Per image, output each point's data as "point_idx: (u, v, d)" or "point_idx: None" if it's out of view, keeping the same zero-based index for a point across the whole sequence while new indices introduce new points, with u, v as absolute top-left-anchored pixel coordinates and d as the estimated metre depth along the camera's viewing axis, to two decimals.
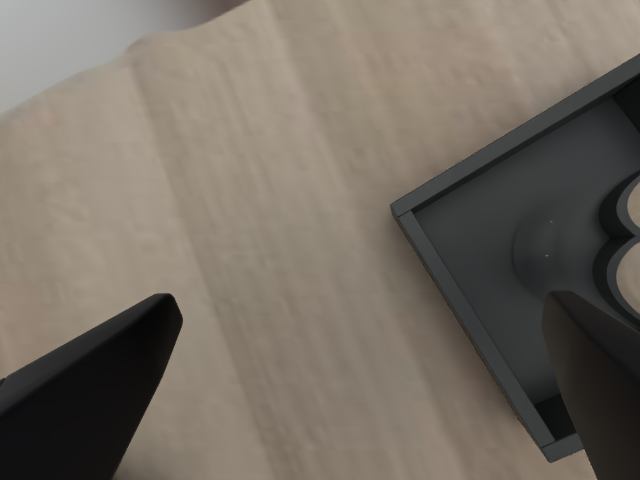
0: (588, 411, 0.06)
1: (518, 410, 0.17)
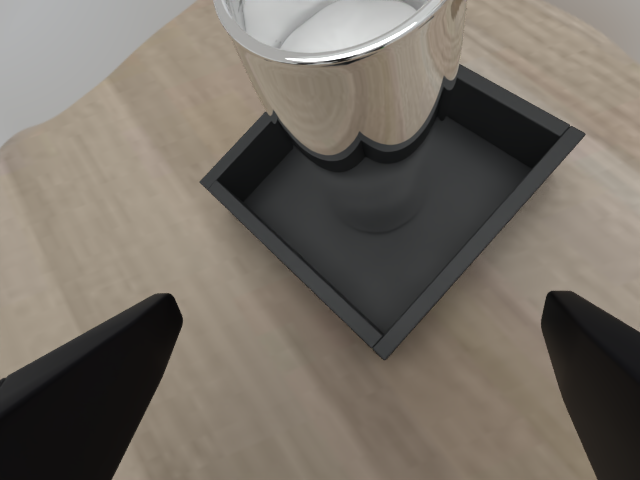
0: (588, 411, 0.06)
1: (343, 319, 0.17)
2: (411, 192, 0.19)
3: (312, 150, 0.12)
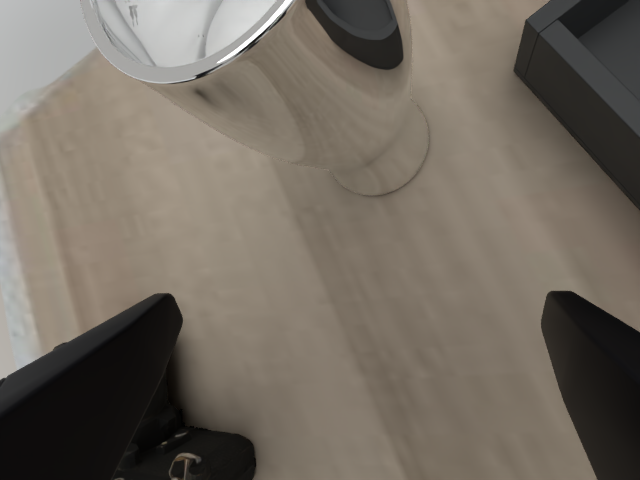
0: (588, 411, 0.06)
1: None
2: (410, 141, 0.17)
3: (269, 150, 0.11)
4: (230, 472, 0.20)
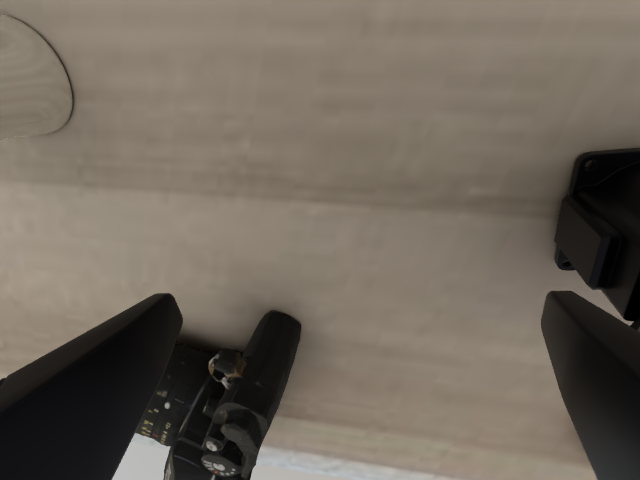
0: (588, 411, 0.06)
1: None
2: None
3: None
4: (267, 337, 0.23)
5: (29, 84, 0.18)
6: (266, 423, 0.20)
